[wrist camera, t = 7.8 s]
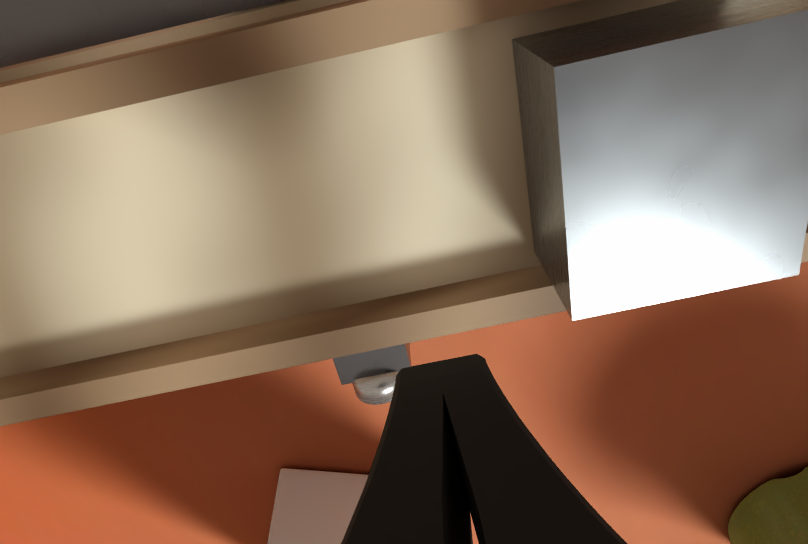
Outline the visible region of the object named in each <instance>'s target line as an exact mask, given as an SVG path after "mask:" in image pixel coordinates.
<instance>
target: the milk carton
mask: <svg viewBox="0 0 808 544" xmlns="http://www.w3.org/2000/svg"><path fill="white" fill-rule="evenodd" d="M367 478H368V475H364V474H352V473H339V472H326V471H313V470H300V469H287V468H282V469H281V470H280V474H279V479H278V485H277V491H276V496H275V502H274V508H273V514H272V520H271V525H270V531H269V537H268V543H267V544H341V542H342V540H343V538H344V535H345V533H346V530H347V528H348V526H349V523H350V521H351V518H352V516H353V513H354V511H355V508H356V506H357V504H358V501H359V499H360V496H361V494H362V491H363V489H364V486H365V483H366V481H367Z"/></svg>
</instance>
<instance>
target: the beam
mask: <svg viewBox="0 0 808 544" xmlns="http://www.w3.org/2000/svg"><path fill="white" fill-rule="evenodd" d="M675 1H679V0H284V1H280V2H275V3H271V4H267V5H263V6H259V7H254V8H250V9H246V10H242V11H237V12H233V13H229V14H225V15H221V16H216V17H212V18H208V19H204V20H200V21H195V22H191V23H187V24H183V25H179V26H174V27H170V28H166V29H162V30H158V31H153V32H149V33H145V34H141V35H137V36H132V37H128V38H124V39H120V40H116V41H111V42H107V43H103V44H99V45H95V46H90V47H86V48H82V49H78V50H73V51H69V52H65V53H61V54H57V55H52V56H48V57H44V58H40V59H36V60H31V61H27V62H23V63H19V64H15V65H10V66H6V67H2V68H0V426H4V425H9V424H14V423H19V422H24V421H29V420H34V419H39V418H43V417H48V416H53V415H58V414H63V413H68V412H73V411H78V410H83V409H88V408H92V407H97V406H102V405H107V404H112V403H117V402H122V401H127V400H132V399H136V398H141V397H146V396H151V395H156V394H161V393H166V392H171V391H176V390H181V389H185V388H190V387H195V386H200V385H205V384H210V383H215V382H220V381H225V380H230V379H234V378H239V377H244V376H249V375H254V374H259V373H264V372H269V371H274V370H279V369H283V368H288V367H293V366H298V365H303V364H308V363H313V362H318V361H323V360H328V359H332V358H337V357H342V356H347V355H352V354H357V353H362V352H367V351H372V350H376V349H381V348H386V347H391V346H396V345H401V344H406V343H411V342H416V341H421V340H425V339H430V338H435V337H440V336H445V335H450V334H455V333H460V332H465V331H470V330H474V329H479V328H484V327H489V326H494V325H499V324H504V323H509V322H514V321H519V320H523V319H528V318H533V317H538V316H543V315H548V314H553V313H558V312H563V311H567V310H566V308H565V307H564V305H563V303H562V301H561V299H560V298H559V296H558V294H557V292H556V290H555V288H554V287H553V285H552V283H551V281H550V279H549V277H548V276H547V274H546V272H545V270H544V268H543V267H542V265H541V263H540V261H539V259H538V257H537V256H536V254H535V252H534V246H533V236H532V227H531V217H530V208H529V198H528V189H527V179H526V170H525V160H524V151H523V141H522V132H521V122H520V113H519V103H518V94H517V84H516V75H515V65H514V56H513V46H512V39H514V38H519V37H523V36H527V35H532V34H536V33H540V32H545V31H549V30H553V29H558V28H562V27H566V26H571V25H575V24H579V23H584V22H588V21H592V20H597V19H601V18H605V17H610V16H614V15H618V14H623V13H627V12H632V11H636V10H640V9H645V8H649V7H653V6H658V5H662V4H666V3H671V2H675ZM807 261H808V223H807V229H806V235H805V241H804V247H803V253H802V259H801V263H803V262H807Z"/></svg>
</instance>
